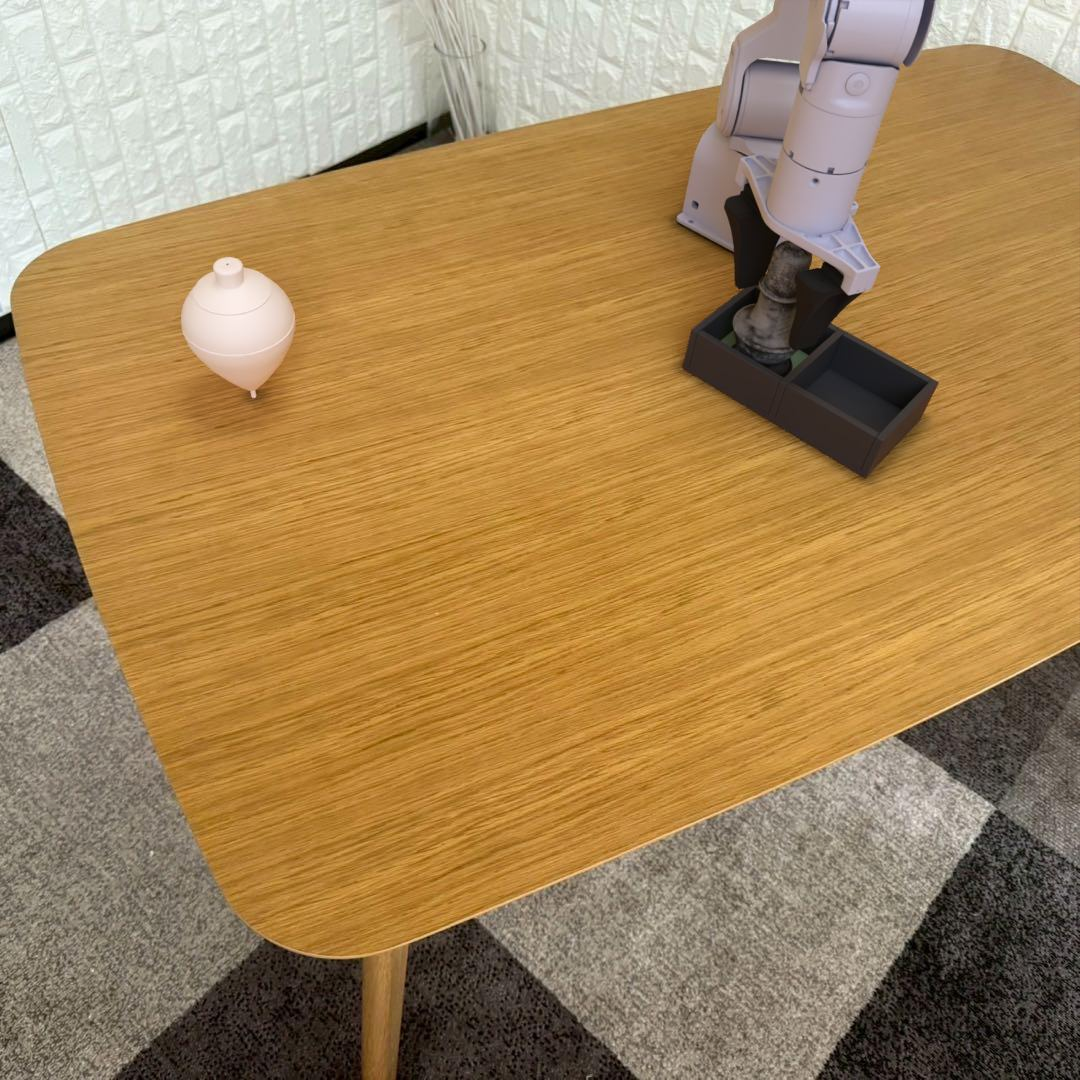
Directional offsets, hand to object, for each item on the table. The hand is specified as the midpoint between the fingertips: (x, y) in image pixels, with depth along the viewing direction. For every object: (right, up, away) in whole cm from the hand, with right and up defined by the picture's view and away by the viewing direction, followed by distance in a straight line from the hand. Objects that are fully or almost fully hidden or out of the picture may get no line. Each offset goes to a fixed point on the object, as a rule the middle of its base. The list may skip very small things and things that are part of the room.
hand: (774, 314), depth 78 cm
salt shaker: (0, -3, +4) cm, 5 cm away
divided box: (+3, -6, +3) cm, 7 cm away
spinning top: (-39, -7, -2) cm, 40 cm away
